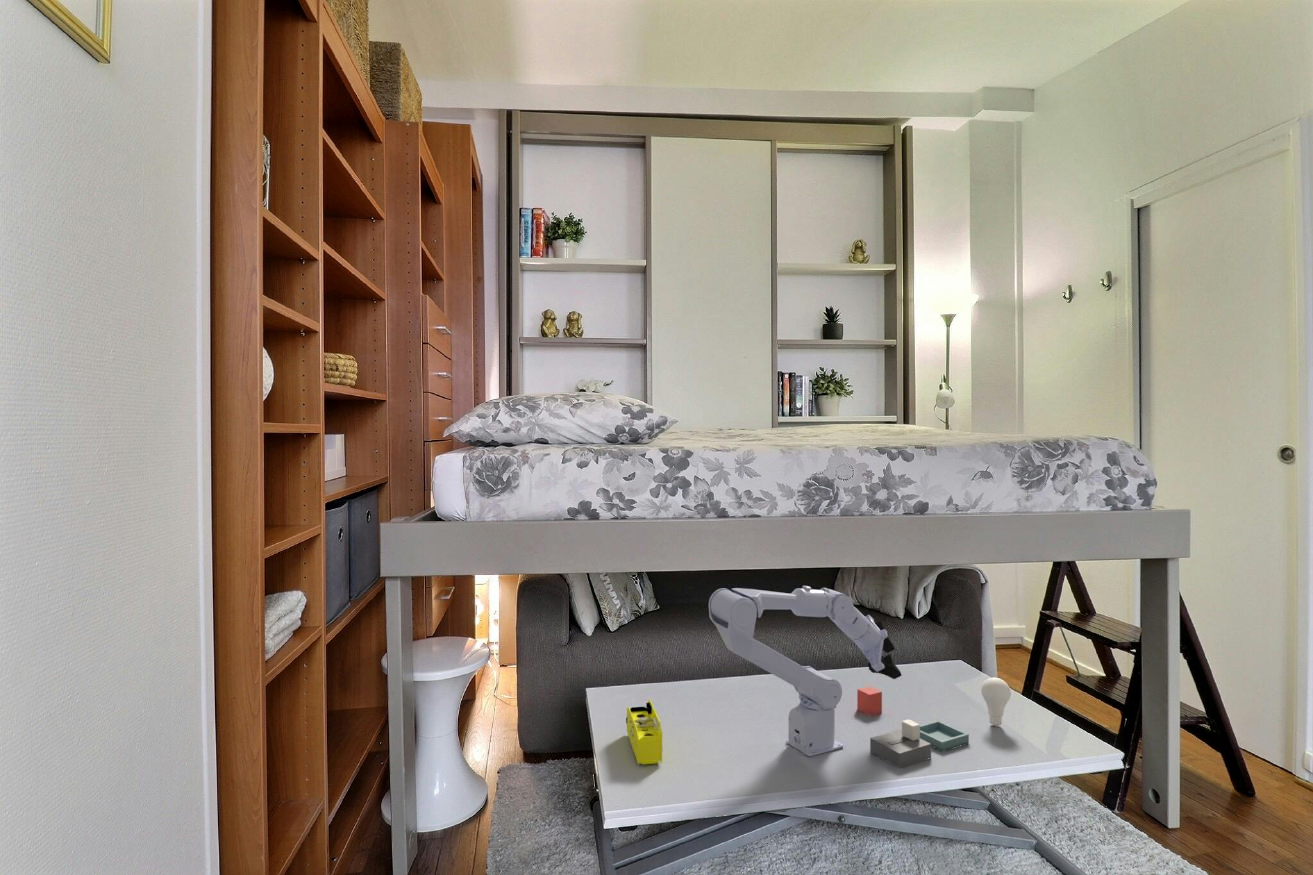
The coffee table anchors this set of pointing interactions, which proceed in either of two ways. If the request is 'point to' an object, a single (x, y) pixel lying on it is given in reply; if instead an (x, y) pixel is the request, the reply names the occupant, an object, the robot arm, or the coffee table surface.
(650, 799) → the coffee table surface
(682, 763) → the coffee table surface
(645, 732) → the yellow parts caddy
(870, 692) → the block
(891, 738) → the grey flat block
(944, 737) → the tray
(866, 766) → the coffee table surface
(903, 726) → the switch
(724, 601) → the robot arm
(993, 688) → the lightbulb
